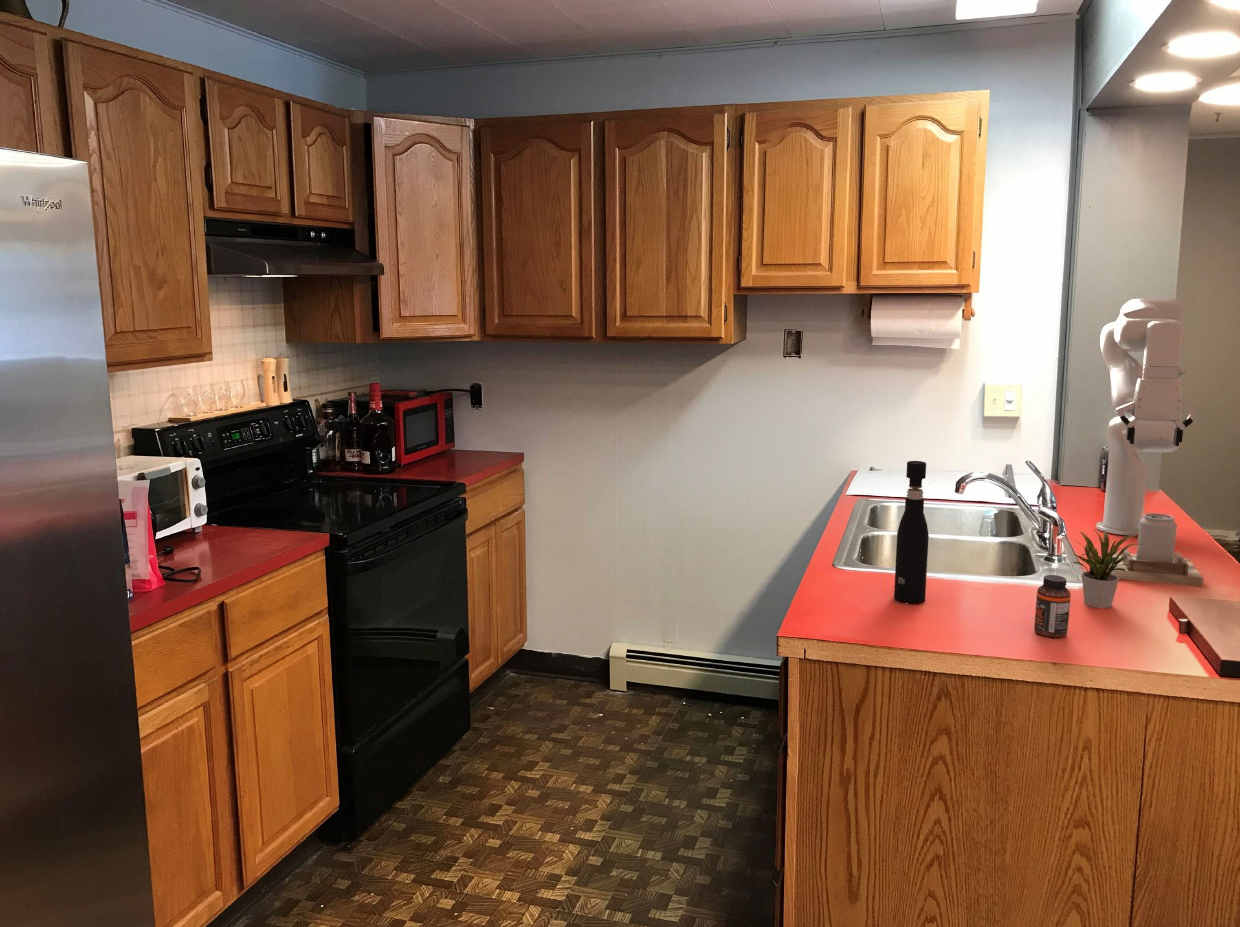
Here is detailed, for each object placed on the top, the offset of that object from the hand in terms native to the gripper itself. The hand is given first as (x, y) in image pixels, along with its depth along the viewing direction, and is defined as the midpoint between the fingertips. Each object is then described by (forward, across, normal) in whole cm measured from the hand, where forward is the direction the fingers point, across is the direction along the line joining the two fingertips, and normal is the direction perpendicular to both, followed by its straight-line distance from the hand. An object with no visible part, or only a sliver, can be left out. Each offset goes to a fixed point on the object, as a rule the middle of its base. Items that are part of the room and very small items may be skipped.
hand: (1153, 444), depth 234 cm
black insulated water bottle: (+28, +52, +52) cm, 79 cm away
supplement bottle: (+28, +25, +64) cm, 74 cm away
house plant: (+28, +13, +42) cm, 52 cm away
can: (+26, 0, +14) cm, 30 cm away
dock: (+28, 0, +13) cm, 31 cm away
